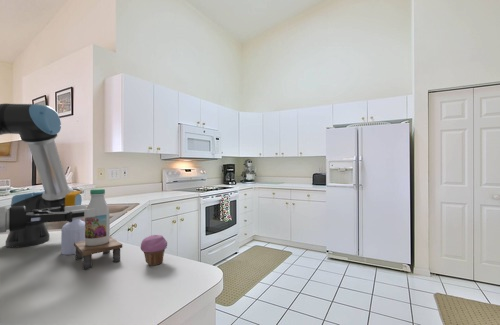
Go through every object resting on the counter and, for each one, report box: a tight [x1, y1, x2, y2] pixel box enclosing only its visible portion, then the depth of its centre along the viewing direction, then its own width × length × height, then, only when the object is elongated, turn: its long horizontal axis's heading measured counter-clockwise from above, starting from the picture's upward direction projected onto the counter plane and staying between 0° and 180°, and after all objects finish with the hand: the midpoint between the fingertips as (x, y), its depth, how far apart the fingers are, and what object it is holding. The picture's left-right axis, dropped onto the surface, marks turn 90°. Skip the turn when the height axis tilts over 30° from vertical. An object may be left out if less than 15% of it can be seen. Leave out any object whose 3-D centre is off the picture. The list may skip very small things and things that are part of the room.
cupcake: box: [140, 234, 168, 267], centre depth 86 cm, size 9×9×10 cm
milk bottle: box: [84, 188, 111, 246], centre depth 91 cm, size 8×8×20 cm
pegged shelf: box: [74, 236, 123, 271], centre depth 91 cm, size 16×12×6 cm
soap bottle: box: [60, 190, 85, 256], centre depth 101 cm, size 9×9×25 cm
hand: (90, 210), depth 89 cm, fingers open, 13 cm apart
